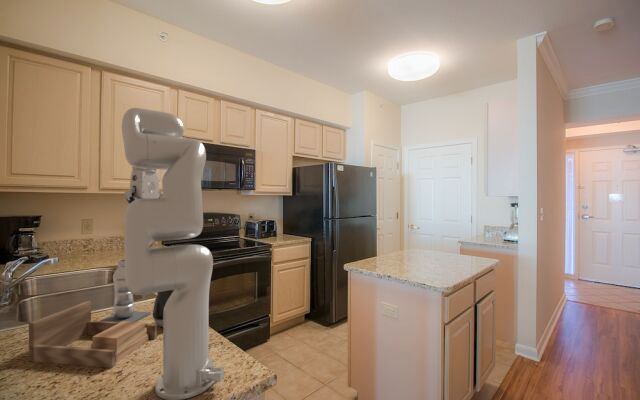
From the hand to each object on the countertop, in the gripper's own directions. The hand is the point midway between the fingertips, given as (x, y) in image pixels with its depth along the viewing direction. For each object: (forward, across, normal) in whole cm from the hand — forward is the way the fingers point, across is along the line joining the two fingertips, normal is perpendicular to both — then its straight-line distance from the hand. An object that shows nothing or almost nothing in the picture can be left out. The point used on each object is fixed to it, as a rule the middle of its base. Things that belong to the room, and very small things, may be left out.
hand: (144, 215), depth 111 cm
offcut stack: (+36, -24, -11) cm, 45 cm away
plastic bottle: (+36, -4, +5) cm, 36 cm away
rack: (+36, -24, -4) cm, 44 cm away
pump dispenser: (+36, -6, -14) cm, 40 cm away
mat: (+36, -4, +5) cm, 37 cm away
